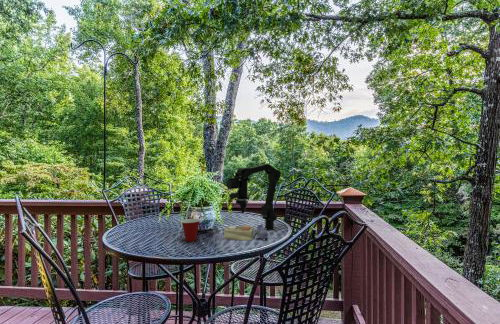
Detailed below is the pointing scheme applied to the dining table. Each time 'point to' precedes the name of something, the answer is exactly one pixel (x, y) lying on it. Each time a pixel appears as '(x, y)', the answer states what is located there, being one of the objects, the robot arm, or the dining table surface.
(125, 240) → the dining table surface
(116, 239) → the dining table surface
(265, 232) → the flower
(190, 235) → the plastic cup
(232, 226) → the grey plug
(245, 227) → the terracotta plug
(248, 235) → the press panel
